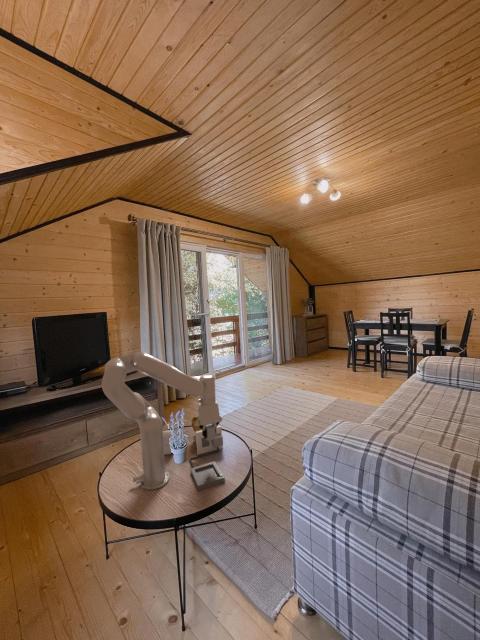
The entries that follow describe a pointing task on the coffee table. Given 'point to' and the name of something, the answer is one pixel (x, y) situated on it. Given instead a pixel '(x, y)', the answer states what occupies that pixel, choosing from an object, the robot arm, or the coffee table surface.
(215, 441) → the plate
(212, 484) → the charging cradle
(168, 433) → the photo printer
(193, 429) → the toy lion
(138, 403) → the robot arm
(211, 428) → the grey rectangular block
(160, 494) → the coffee table surface
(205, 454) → the dark piece
